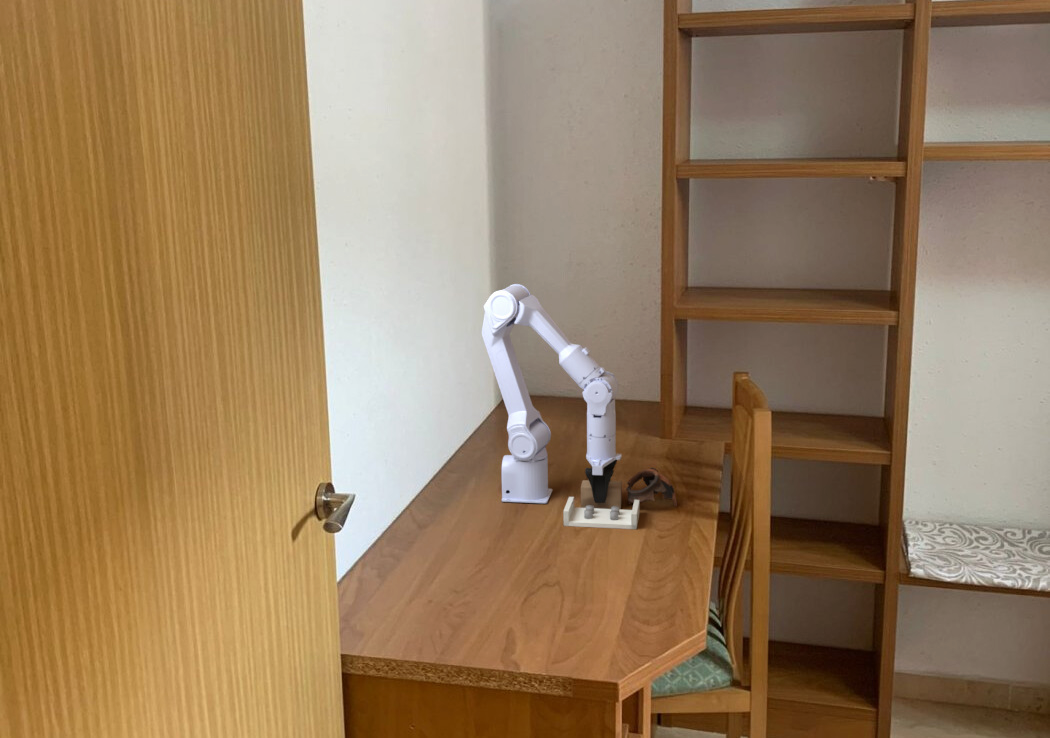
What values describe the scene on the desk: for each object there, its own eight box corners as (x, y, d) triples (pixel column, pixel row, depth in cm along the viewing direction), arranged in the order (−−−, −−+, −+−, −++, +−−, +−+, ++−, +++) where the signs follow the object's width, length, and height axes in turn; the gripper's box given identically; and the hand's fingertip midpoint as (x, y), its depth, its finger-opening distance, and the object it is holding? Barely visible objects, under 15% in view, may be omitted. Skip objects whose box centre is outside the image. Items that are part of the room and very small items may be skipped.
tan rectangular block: (580, 508, 209) (580, 487, 208) (582, 500, 213) (582, 480, 212) (620, 509, 208) (620, 488, 207) (621, 502, 212) (621, 481, 211)
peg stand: (563, 525, 199) (563, 511, 199) (569, 510, 207) (569, 496, 206) (636, 529, 197) (636, 514, 196) (639, 514, 205) (639, 499, 204)
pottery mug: (682, 514, 206) (664, 483, 202) (639, 532, 208) (621, 501, 205) (677, 480, 216) (660, 450, 213) (637, 497, 219) (619, 468, 216)
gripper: (617, 444, 199) (617, 511, 202) (624, 424, 213) (624, 486, 216) (581, 443, 201) (582, 509, 204) (590, 423, 214) (590, 485, 218)
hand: (601, 497), depth 210 cm, fingers open, 5 cm apart
